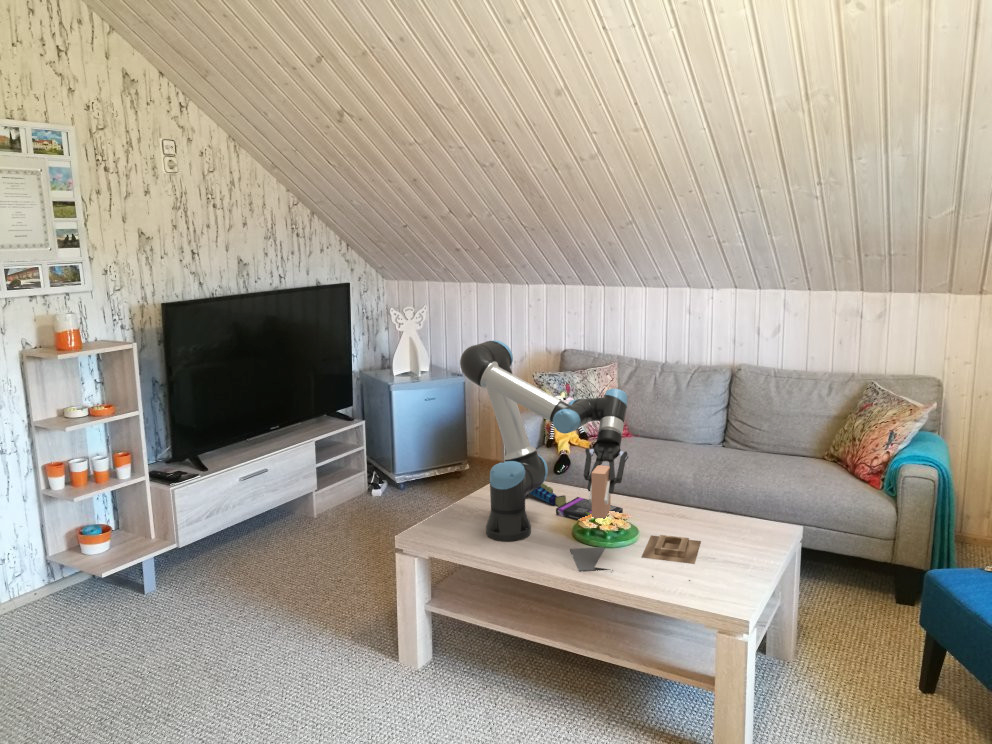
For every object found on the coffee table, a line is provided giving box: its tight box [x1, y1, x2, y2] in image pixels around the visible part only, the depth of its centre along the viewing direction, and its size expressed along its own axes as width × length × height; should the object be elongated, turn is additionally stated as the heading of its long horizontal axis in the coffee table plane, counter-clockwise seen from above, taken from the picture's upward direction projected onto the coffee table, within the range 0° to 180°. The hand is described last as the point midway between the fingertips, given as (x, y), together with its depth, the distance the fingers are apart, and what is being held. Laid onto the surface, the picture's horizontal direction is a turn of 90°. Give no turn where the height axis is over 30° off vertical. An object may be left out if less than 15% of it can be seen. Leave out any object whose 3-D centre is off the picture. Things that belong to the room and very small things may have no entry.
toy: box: [525, 483, 567, 507], centre depth 300 cm, size 14×25×10 cm, turn 38°
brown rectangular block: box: [592, 464, 611, 519], centre depth 244 cm, size 4×8×14 cm, turn 160°
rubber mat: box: [569, 546, 612, 572], centre depth 248 cm, size 16×16×1 cm
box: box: [555, 496, 624, 521], centre depth 285 cm, size 14×4×20 cm
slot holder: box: [641, 534, 702, 565], centre depth 251 cm, size 16×18×4 cm
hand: (598, 501), depth 241 cm, fingers closed on brown rectangular block, 4 cm apart
